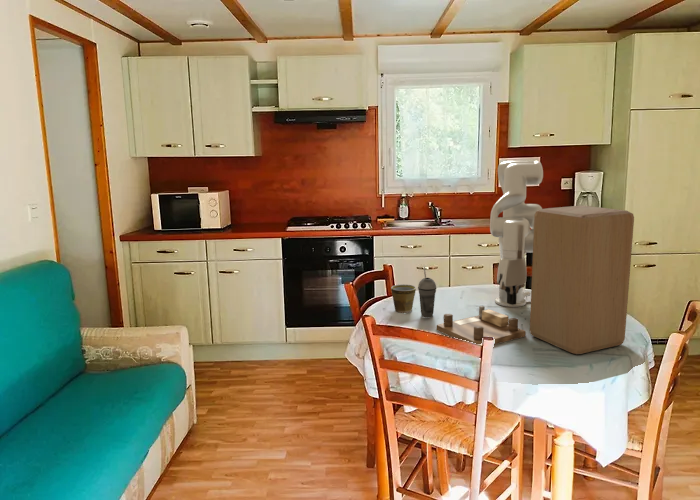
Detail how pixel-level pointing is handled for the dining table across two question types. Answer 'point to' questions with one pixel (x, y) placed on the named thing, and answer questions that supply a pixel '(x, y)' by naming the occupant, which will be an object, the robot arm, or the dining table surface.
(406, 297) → the ceramic cup
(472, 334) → the board
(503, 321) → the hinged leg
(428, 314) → the beverage cup
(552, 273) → the wooden block
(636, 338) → the dining table surface
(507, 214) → the robot arm
